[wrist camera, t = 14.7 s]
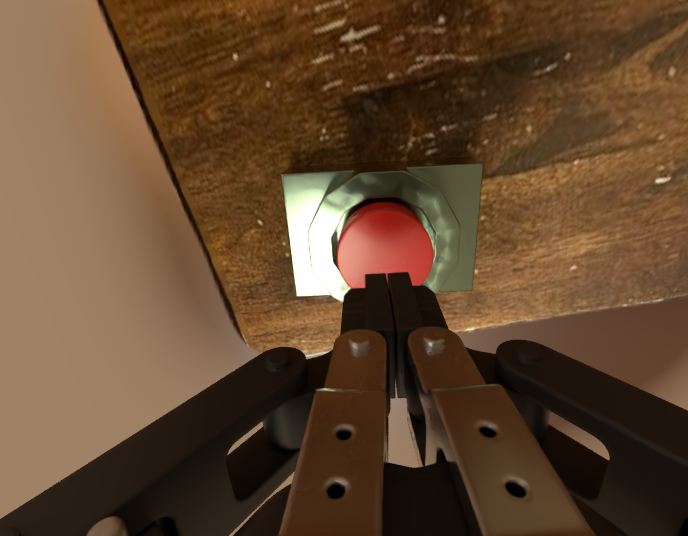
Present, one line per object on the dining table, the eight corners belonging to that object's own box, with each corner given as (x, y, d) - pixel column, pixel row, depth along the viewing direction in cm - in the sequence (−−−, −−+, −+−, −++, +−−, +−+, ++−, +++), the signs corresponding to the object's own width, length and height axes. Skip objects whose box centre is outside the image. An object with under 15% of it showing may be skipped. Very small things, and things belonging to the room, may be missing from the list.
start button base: (301, 282, 24) (290, 315, 20) (287, 164, 21) (271, 177, 17) (462, 277, 23) (481, 310, 19) (472, 153, 20) (496, 165, 16)
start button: (341, 286, 20) (339, 302, 18) (335, 203, 18) (332, 213, 16) (426, 283, 19) (432, 299, 18) (429, 199, 17) (436, 208, 16)
